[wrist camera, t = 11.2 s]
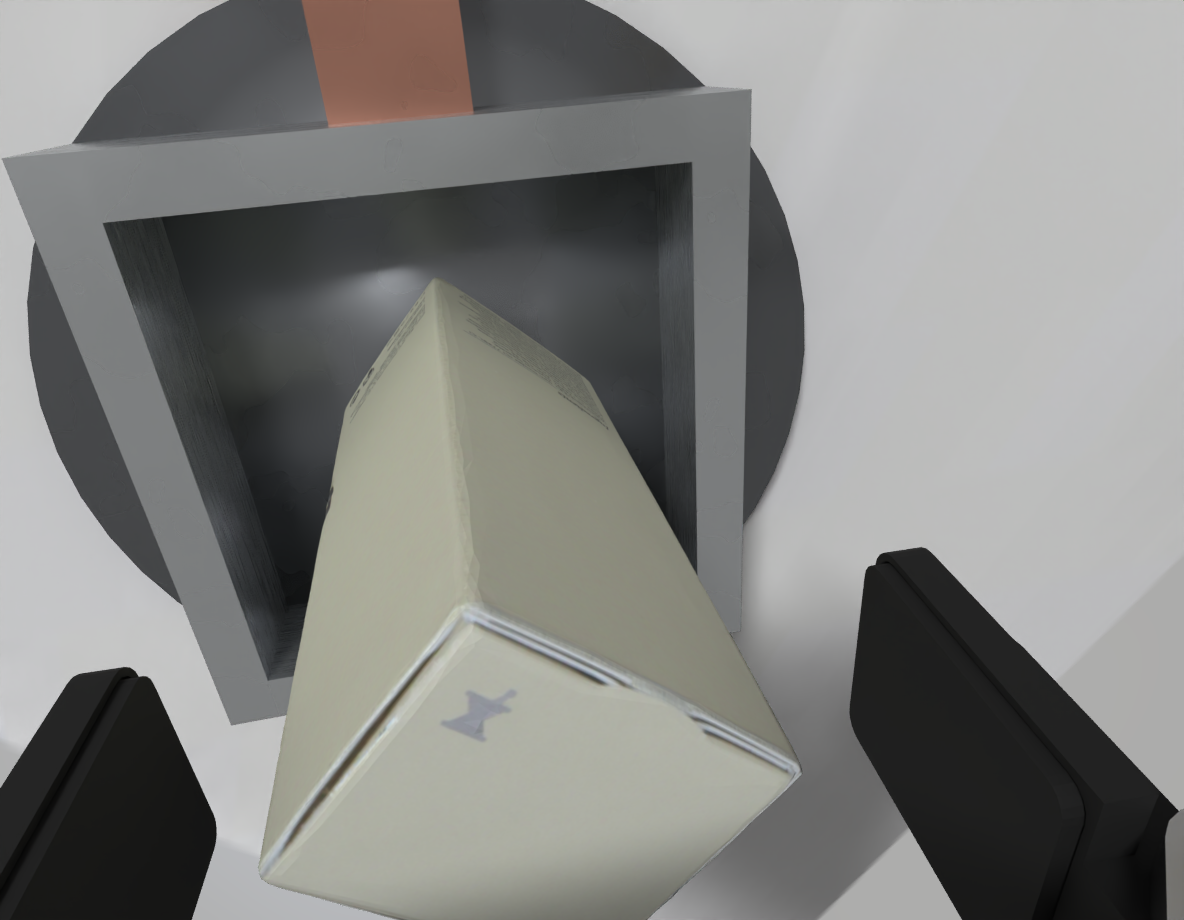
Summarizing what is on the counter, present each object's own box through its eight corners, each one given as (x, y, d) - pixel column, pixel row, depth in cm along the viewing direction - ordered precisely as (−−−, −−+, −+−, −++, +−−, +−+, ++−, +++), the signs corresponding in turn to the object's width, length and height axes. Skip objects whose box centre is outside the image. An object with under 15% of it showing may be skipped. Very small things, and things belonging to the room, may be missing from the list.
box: (339, 408, 19) (205, 888, 8) (438, 265, 18) (445, 589, 7) (510, 506, 21) (595, 994, 10) (608, 385, 20) (826, 780, 9)
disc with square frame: (817, -262, 16) (927, -356, 12) (776, 605, 26) (829, 688, 23) (-212, -229, 13) (-442, -334, 10) (193, 710, 24) (152, 822, 20)
